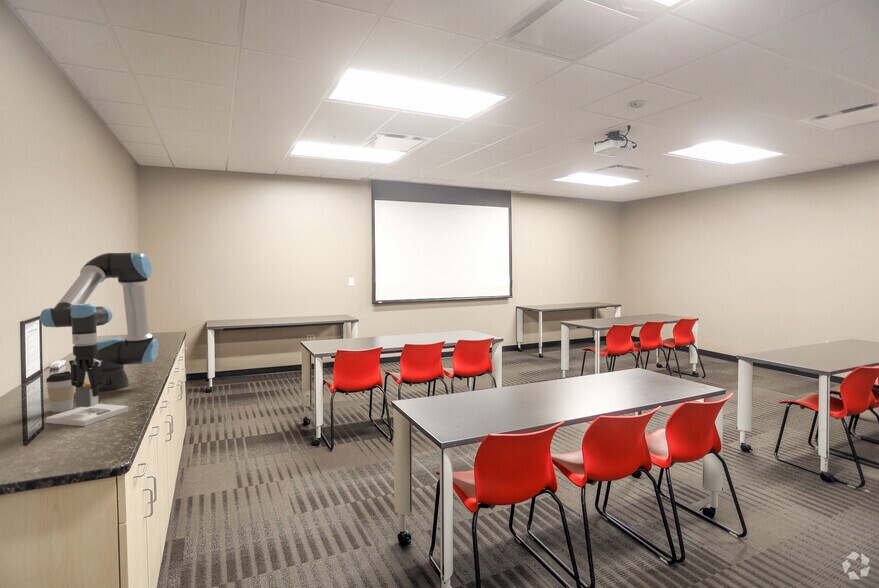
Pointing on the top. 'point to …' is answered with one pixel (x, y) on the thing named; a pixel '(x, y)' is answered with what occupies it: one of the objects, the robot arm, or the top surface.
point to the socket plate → (87, 414)
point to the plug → (83, 396)
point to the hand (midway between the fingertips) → (88, 403)
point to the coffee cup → (60, 391)
